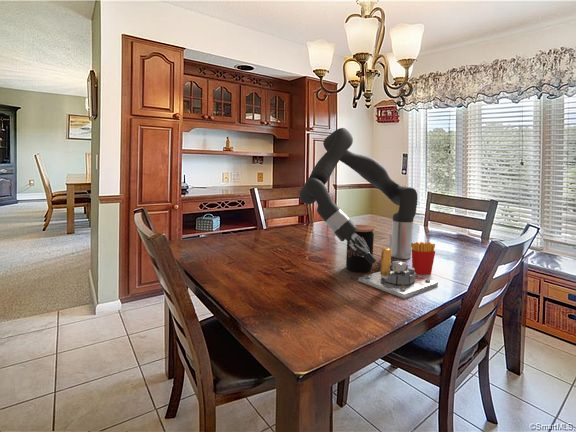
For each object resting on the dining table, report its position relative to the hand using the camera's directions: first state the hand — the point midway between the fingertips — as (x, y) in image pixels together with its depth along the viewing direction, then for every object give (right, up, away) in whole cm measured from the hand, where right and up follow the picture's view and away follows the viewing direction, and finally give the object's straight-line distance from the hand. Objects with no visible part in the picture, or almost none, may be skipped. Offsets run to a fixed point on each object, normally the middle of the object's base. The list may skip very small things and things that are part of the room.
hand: (374, 262), depth 120 cm
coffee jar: (0, -6, +24) cm, 25 cm away
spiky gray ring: (+9, -7, +5) cm, 12 cm away
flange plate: (+11, -9, +7) cm, 15 cm away
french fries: (+24, -7, +19) cm, 32 cm away
